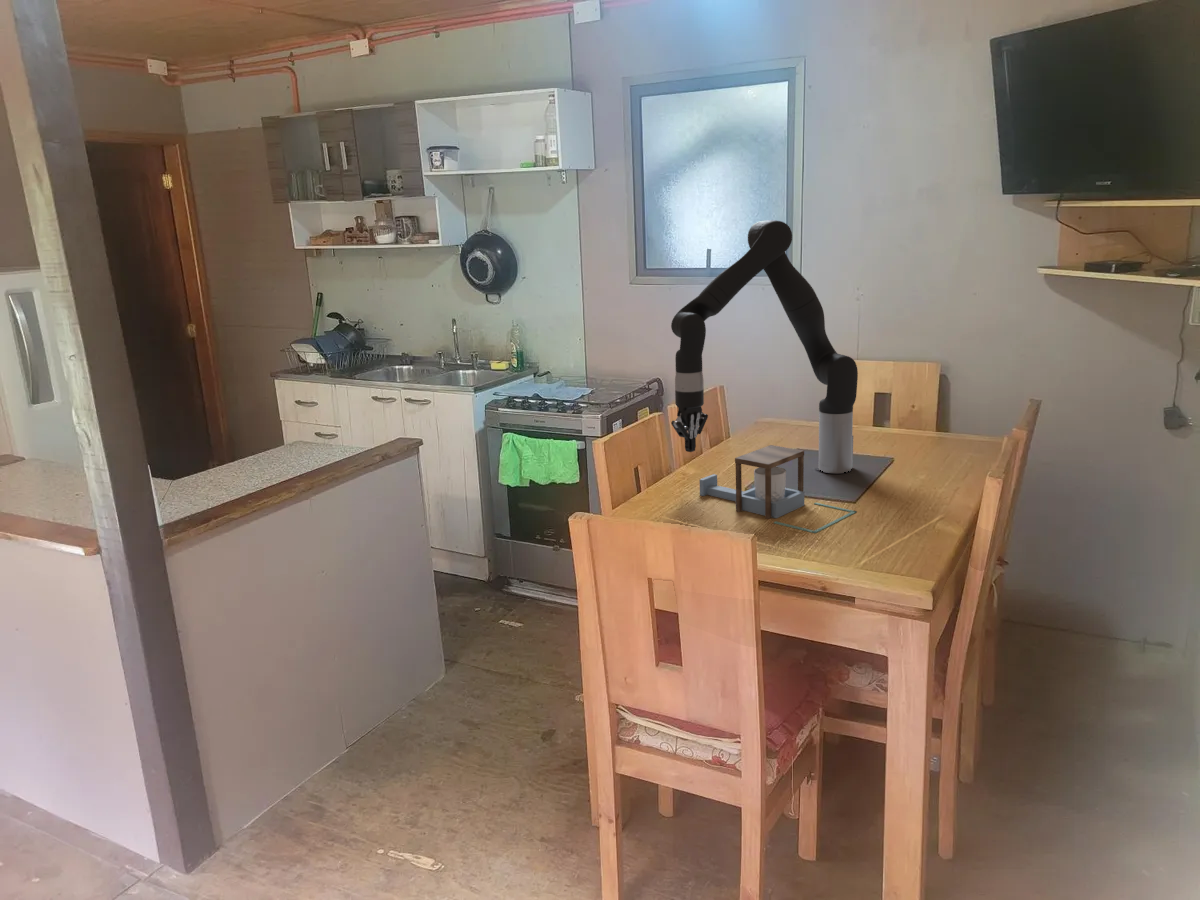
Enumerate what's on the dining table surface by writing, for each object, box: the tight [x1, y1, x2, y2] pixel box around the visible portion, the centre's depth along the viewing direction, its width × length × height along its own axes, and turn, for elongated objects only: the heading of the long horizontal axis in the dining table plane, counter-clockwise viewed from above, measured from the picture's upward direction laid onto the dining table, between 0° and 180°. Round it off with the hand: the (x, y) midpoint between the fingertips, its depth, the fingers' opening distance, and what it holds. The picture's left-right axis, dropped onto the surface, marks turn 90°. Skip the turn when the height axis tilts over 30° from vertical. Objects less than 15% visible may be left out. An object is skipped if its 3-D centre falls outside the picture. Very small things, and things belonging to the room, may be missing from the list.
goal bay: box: [773, 502, 858, 534], centre depth 210 cm, size 18×11×1 cm, turn 134°
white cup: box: [753, 466, 787, 502], centre depth 218 cm, size 8×8×10 cm
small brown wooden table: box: [734, 444, 805, 520], centre depth 217 cm, size 15×10×14 cm, turn 134°
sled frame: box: [699, 473, 805, 519], centre depth 223 cm, size 12×26×4 cm, turn 44°
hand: (690, 451), depth 234 cm, fingers closed
